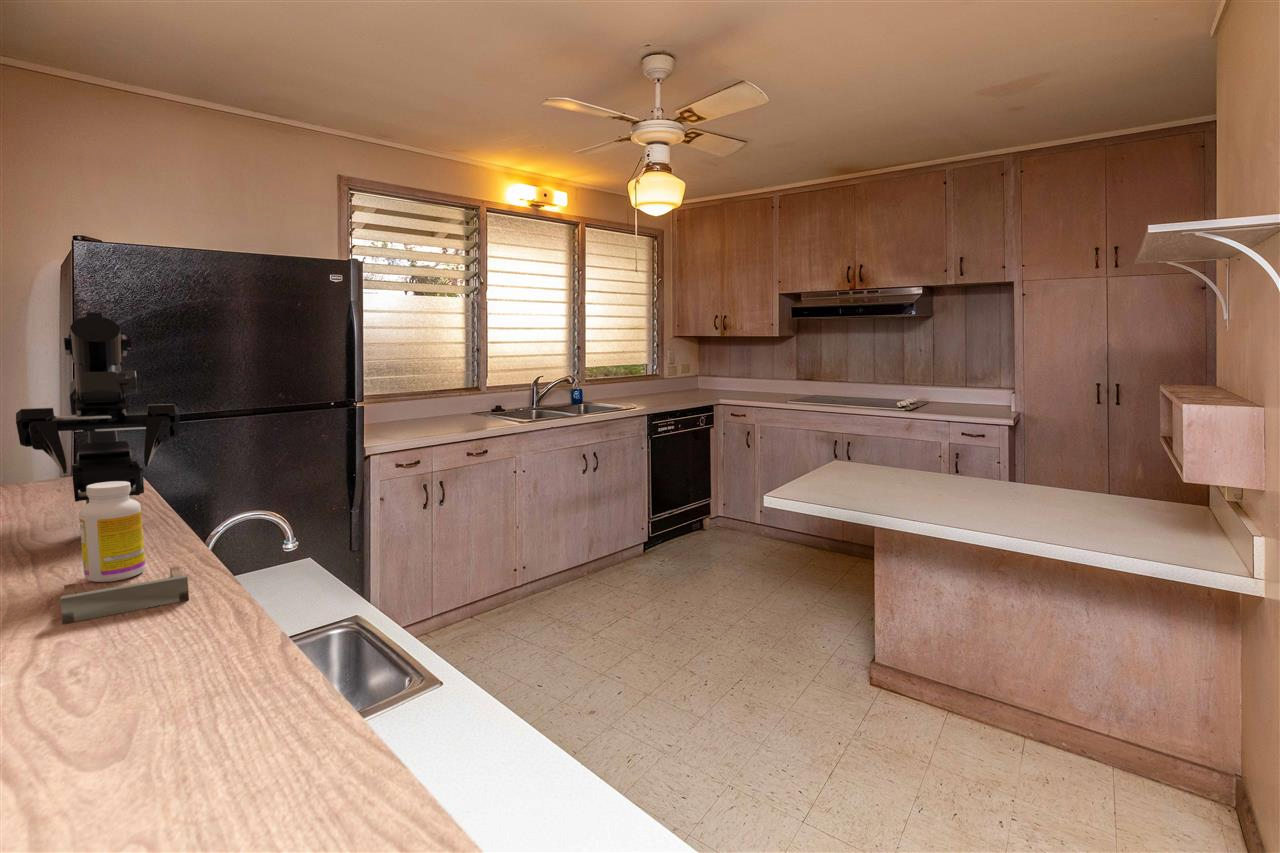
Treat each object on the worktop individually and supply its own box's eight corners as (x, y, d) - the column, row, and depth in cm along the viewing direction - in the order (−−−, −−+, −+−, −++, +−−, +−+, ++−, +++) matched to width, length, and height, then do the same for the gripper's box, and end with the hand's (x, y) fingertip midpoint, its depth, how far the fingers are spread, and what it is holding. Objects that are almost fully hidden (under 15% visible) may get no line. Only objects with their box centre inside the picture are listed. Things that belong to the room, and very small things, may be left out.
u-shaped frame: (65, 594, 83) (63, 571, 83) (179, 574, 91) (178, 554, 91) (62, 624, 75) (60, 599, 74) (188, 599, 82) (187, 577, 82)
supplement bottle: (157, 568, 93) (152, 480, 92) (116, 585, 87) (109, 490, 85) (115, 565, 94) (108, 478, 92) (70, 582, 87) (62, 488, 86)
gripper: (10, 351, 91) (10, 437, 84) (174, 353, 103) (186, 428, 96) (20, 404, 98) (21, 488, 90) (172, 399, 110) (184, 474, 102)
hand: (106, 468), depth 95 cm, fingers open, 9 cm apart
